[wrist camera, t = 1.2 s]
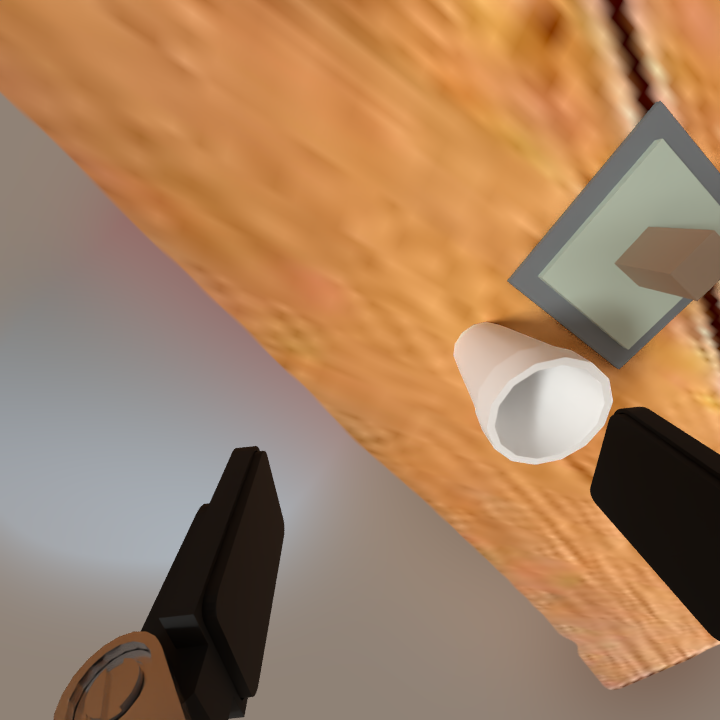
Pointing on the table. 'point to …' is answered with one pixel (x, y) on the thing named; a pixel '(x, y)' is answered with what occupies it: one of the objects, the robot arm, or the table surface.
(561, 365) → the foam cup
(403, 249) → the table surface
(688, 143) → the mat
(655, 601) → the table surface
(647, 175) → the lid
